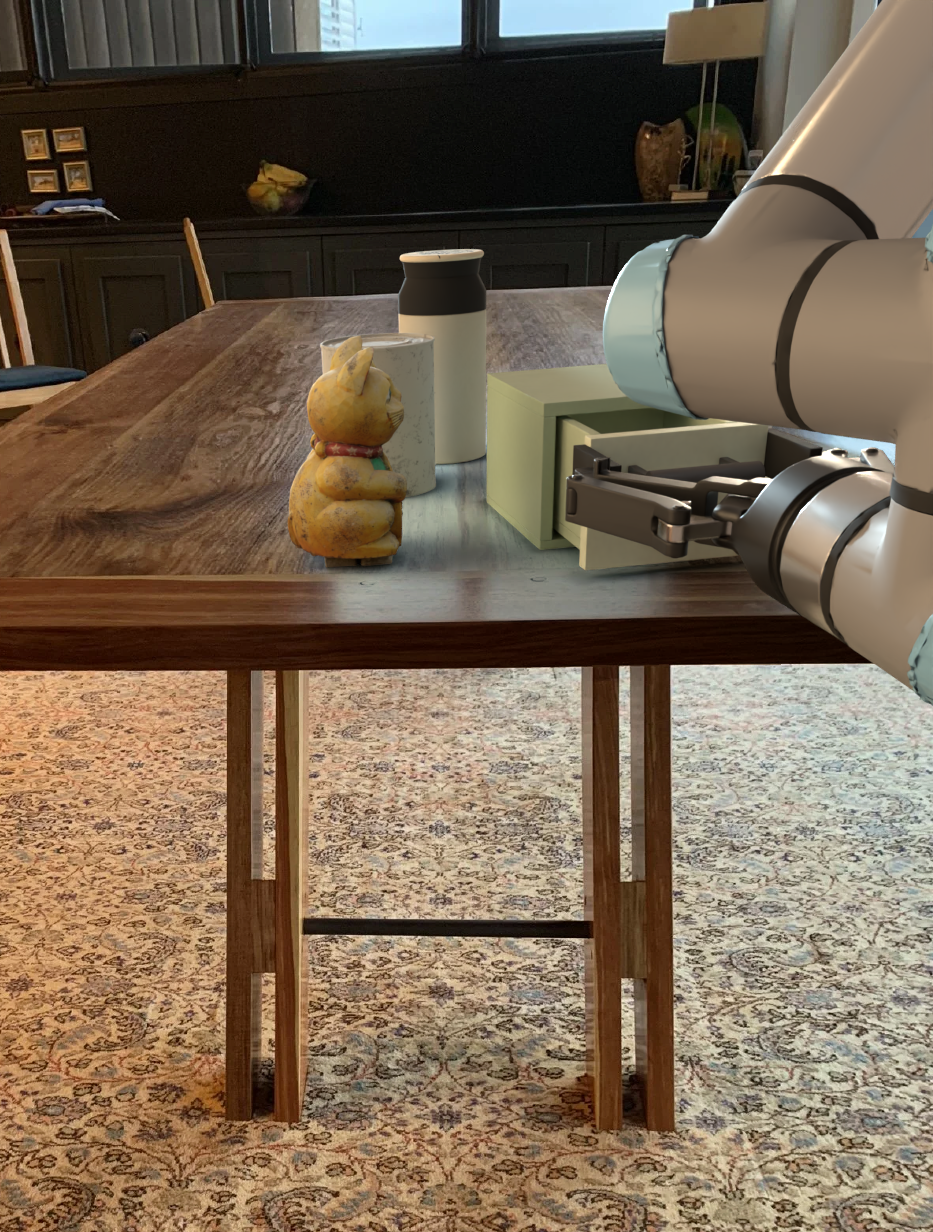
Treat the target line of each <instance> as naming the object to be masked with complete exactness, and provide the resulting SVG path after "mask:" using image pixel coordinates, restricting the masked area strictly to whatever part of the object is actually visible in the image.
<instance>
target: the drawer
mask: <svg viewBox="0 0 933 1232" xmlns="http://www.w3.org/2000/svg"><path fill="white" fill-rule="evenodd" d="M767 433H768V425H760V424H752V423H744V422H736V421H728V420H720V419H712V418H709V419H707V420H695V419H692V418H690V417H687V416H683V415H680V414H676V413H672V412H668V411H664V410H660V409H656V408H645V409H633V410H622V411H610V412H598V413H586V414H575V415H563V416H556V433H555V464H554V495H553V526H552V528H554V529H555V530H556V531H557V532H558V533H560V534H561V535H562V536H563V537H565V538H566V539H567V540H568V541H569V542H571V543H572V544H573V545H574V546H576V547H575V548H577V549H578V550H579V558H578V559H579V561H578V562H579V563H578V566H579V567H580V568H581V569H582V570H584V571H595V570H596V571H597V570H604V569H605V570H606V569H617V568H625V567H626V568H627V567H635V566H636V567H637V566H646V565H657V564H667V563H678V562H687V561H697V560H709V559H717V558H718V559H719V558H727V557H737V556H740V555H738V554H736V553H735V552H734V551H733V550H731V549H727V548H722V547H716V546H710V545H705V544H699V543H696V542H694V541H689V542H688V554H687V556H684V557H681V558H671V557H668V556H665V555H663V554H662V553H660V552H659V551H657V550H656V549H654V548H653V547H650V546H647V545H644V544H640V543H637V542H634V541H630V540H627V539H624V538H620V537H617V536H614V535H610V534H607V533H604V532H600V531H597V530H594V529H590V528H587V527H584V526H580V525H577V524H573V523H570V522H567V521H565V508H566V482H567V477H569V476H572V471H573V446H574V445H583V444H585V445H587V446H589V447H591V448H592V449H594V450H596V451H597V452H599V453H601V454H603V455H604V456H606V457H611V460H613V461H615V462H616V463H618V464H620V465H622V469H621V472H623V473H630V474H637V475H644V476H651V477H658V478H665V479H672V480H679V481H687V482H694V483H697V482H699V481H701V480H704V479H707V478H709V477H712V476H718V477H725V478H733V479H740V480H747V481H749V480H751V479H754V478H757V477H761V478H766V476H765V467H764V460H765V451H766V442H767ZM727 494H728V493H721V492H718V503H717V505H718V504H719V503H720V502H721V501H722V500H723V498H724V497H725V496H726V495H727Z"/></svg>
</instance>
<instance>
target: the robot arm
mask: <svg viewBox="0 0 933 1232" xmlns="http://www.w3.org/2000/svg"><path fill="white" fill-rule="evenodd" d="M932 211H933V0H881V1H880V3H878V5H877V7H876V8H875V9H874V11H873V12H872V14H870V16H869V18H868V19H867V20H866V22H865V23H864V24H863V26H862V27H861V28H860V30H859V31H858V32H857V33H856V35H855V36H854V38H853V39H852V40H851V42H850V43H849V44H848V46H847V47H846V48H845V50H844V51H843V52H842V54H841V56H840V57H839V58H838V59H837V60H836V62H835V63H834V65H833V66H832V67H831V68H830V70H829V71H828V73H827V74H826V76H825V77H824V78H823V79H822V81H821V82H820V84H819V85H818V86H817V88H816V89H815V90H814V91H813V93H812V94H811V96H810V97H809V98H808V100H807V101H806V103H804V105H803V106H802V107H801V109H800V110H799V112H798V113H797V114H796V116H795V117H794V119H793V120H792V121H791V122H790V124H789V125H788V127H787V128H786V129H785V130H784V132H783V133H782V135H781V136H780V137H779V139H778V140H777V141H776V143H775V144H774V146H773V147H772V148H771V149H770V151H769V152H768V154H767V155H766V156H765V158H764V159H763V161H761V163H760V164H759V166H758V167H757V169H756V170H755V171H754V172H753V174H751V176H750V178H749V179H748V180H747V182H746V183H745V185H744V186H743V187H742V189H741V190H740V192H739V194H738V196H737V197H736V199H734V200H733V201H732V202H731V203H730V204H729V206H728V207H727V209H726V210H725V212H724V213H723V214H722V215H721V217H720V218H719V219H718V221H717V223H716V224H715V225H714V227H713V228H712V229H711V230H710V232H709V233H707V234H706V235H705V236H703V237H701V238H700V236H698V235H697V236H696V235H695V236H694V235H693V234H682V235H680V236H678V237H676V238H673V239H665V240H660V241H657V242H653V243H651V244H650V245H647V246H646V247H645V248H644V249H642V250H640V251H637V252H636V253H635V254H634V255H633V256H632V257H631V258H630V259H629V260H627V262H626V263H625V265H624V266H623V268H622V269H621V270H620V272H619V274H618V275H617V277H616V279H615V281H614V283H613V286H612V288H611V291H610V293H609V295H608V299H607V301H606V304H605V305H606V306H605V310H604V315H603V322H602V346H603V354H604V355H603V356H604V358H605V364H607V366H608V368H609V371H610V373H611V374H612V377H613V380H614V381H615V384H617V385H618V388H619V389H620V390H621V391H622V392H623V393H624V394H625V395H626V396H627V397H628V398H630V399H631V400H632V401H634V402H637V403H639V404H641V405H645V406H649V407H653V408H656V409H660V410H664V411H668V412H672V413H676V414H680V415H683V416H687V417H690V418H692V419H695V420H707V419H709V418H712V419H720V420H728V421H736V422H744V423H752V424H760V425H768V426H772V428H768V433H767V442H766V451H765V460H764V467H765V478H761V477H757V478H754V479H751V480H749V481H747V480H740V479H733V478H725V477H718V476H712V477H709V478H707V479H704V480H701V481H699V482H697V483H694V482H687V481H679V480H672V479H665V478H658V477H651V476H644V475H637V474H630V473H623V472H621V469H622V465H620V464H618V463H616V462H615V461H613V460H611V457H606V456H604V455H603V454H601V453H599V452H597V451H596V450H594V449H592V448H591V447H589V446H587V445H585V444H583V445H574V446H573V471H572V476H569V477H567V482H566V508H565V521H567V522H570V523H573V524H577V525H580V526H584V527H587V528H590V529H594V530H597V531H600V532H604V533H607V534H610V535H614V536H617V537H620V538H624V539H627V540H630V541H634V542H637V543H640V544H644V545H647V546H650V547H653V548H654V549H656V550H657V551H659V552H660V553H662V554H663V555H665V556H668V557H671V558H681V557H684V556H687V554H688V542H689V541H694V542H696V543H699V544H705V545H710V546H716V547H722V548H727V549H731V550H733V551H734V552H735V553H736V554H738V555H739V556H740V559H741V561H742V563H743V565H744V568H745V569H746V571H747V573H748V576H749V578H751V580H752V582H753V584H755V586H757V588H758V589H759V590H760V591H762V592H763V593H764V594H766V595H767V596H768V597H770V598H772V599H774V601H776V602H778V603H779V604H781V605H782V606H784V607H785V608H787V609H789V610H790V611H791V612H794V613H796V614H797V615H799V616H802V617H803V618H805V619H806V620H807V621H808V622H809V621H810V622H811V623H812V624H814V625H815V626H816V627H819V628H820V629H822V630H824V631H825V632H827V633H828V634H830V635H831V636H833V637H835V638H836V639H837V640H839V641H840V642H842V643H843V644H845V645H846V646H847V647H848V648H850V649H852V650H853V651H854V652H856V653H858V655H860V656H862V657H863V658H865V659H866V660H868V661H869V662H871V663H872V664H873V665H876V666H877V667H878V668H879V669H881V670H882V671H884V672H885V673H886V674H888V675H890V676H891V677H892V678H893V679H895V680H896V681H898V682H899V683H901V684H902V685H904V686H906V687H907V688H908V689H910V690H911V691H913V693H915V695H916V696H918V698H919V699H920V700H921V701H922V702H924V703H926V704H928V705H931V706H932V707H933V224H932V226H931V229H930V232H928V233H927V235H926V236H925V237H913V236H914V235H915V234H916V232H917V231H918V230H919V228H920V227H921V226H922V224H923V223H924V222H925V220H926V219H927V218H928V216H929V215H930V213H931V212H932ZM774 427H775V428H777V427H778V428H783V429H784V428H785V429H793V430H800V431H808V432H812V433H819V434H823V435H829V436H836V437H843V438H851V439H859V440H864V441H865V440H866V441H873V442H878V443H879V442H881V443H887V444H893V445H894V446H895V447H894V448H895V450H894V463H893V462H892V461H891V459H890V458H889V457H888V455H887V454H886V453H885V451H884V450H883V449H879V447H875V446H874V447H873V446H869V447H867V448H862V449H861V450H860V454H859V457H848V455H849V451H848V450H847V449H843V448H841V447H834V448H832V449H827V450H823V449H824V447H822V446H820V445H817V444H815V443H812V442H809V441H807V440H804V439H801V438H799V437H797V436H794V435H791V434H788V433H787V432H783V431H782V430H778V429H775V428H774ZM718 492H721V493H728V494H727V495H726V496H725V497H724V498H723V500H722V501H721V502H720V503H719V504H718V505H717V503H718Z"/></svg>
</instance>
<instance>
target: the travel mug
mask: <svg viewBox="0 0 933 1232" xmlns="http://www.w3.org/2000/svg"><path fill="white" fill-rule="evenodd" d="M484 255H485V252H484V251H483V249H476V248H475V249H474V248H471V249H470V248H464V249H463V248H462V249H461V248H460V249H457V248H455V249H437V250H424V251H415V252H414V251H413V252H408V253H407V252H406V253H403V254H401V255H400V256H399V260H400V262H401V263H402V266H403V272H404V277H405V278H404V280H403V282H402V284H401V287H400V290H399V292H398V294H397V307H398V308H397V310H398V315H397V316H398V333H418V334H427V335H432V336H434V337H435V341H434V404H435V465H453V464H461V463H468V462H472V461H475V460H478V459H481V458H482V457H483V456H485V455H487V288H486V287H485V284H484V283H483V280H482V278H481V276H480V274H479V273H480V267H481V260H482V258H483V256H484Z"/></svg>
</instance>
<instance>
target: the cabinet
mask: <svg viewBox="0 0 933 1232" xmlns="http://www.w3.org/2000/svg"><path fill="white" fill-rule="evenodd" d="M645 408H653V407H649V406H645V405H641V404H639V403H637V402H634V401H632V400H631V399H630V398H628V397H627V396H626V395H625V394H624V393H623V392H622V391H621V390H620V389H619V388H618V385H617V384H615V381H614V380H613V377H612V374H611V373H610V371H609V368H608V366H607V363H600V364H598V363H597V364H588V365H587V364H586V365H575V366H561V367H560V366H559V367H551V368H550V367H549V368H538V369H537V368H535V369H526V370H525V369H524V370H514V371H513V370H511V371H499V372H489V373H486V503H487V504H488V506H490V507H491V508H492V509H493V510H494V511H496V512H497V513H498V514H499V515H500V516H501V517H502V518H503V519H504V520H506V521H507V522H508V523H509V524H510V525H511V526H512V527H513V528H514V529H516V530H517V531H518V532H519V533H520V534H521V535H522V536H523V537H525V538H526V539H527V540H528V541H529V542H530V543H531V544H532V545H533V546H535V547H536V548H537V549H538V550H539V551H545V550H546V551H547V550H553V549H554V550H556V549H565V548H577V547H576V546H574V545H573V544H572V543H571V542H569V541H568V540H567V539H566V538H565V537H563V536H562V535H561V534H560V533H558V532H557V531H556V530H555V529H554V528H552V526H553V495H554V464H555V433H556V416H563V415H575V414H586V413H598V412H610V411H622V410H633V409H645Z"/></svg>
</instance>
